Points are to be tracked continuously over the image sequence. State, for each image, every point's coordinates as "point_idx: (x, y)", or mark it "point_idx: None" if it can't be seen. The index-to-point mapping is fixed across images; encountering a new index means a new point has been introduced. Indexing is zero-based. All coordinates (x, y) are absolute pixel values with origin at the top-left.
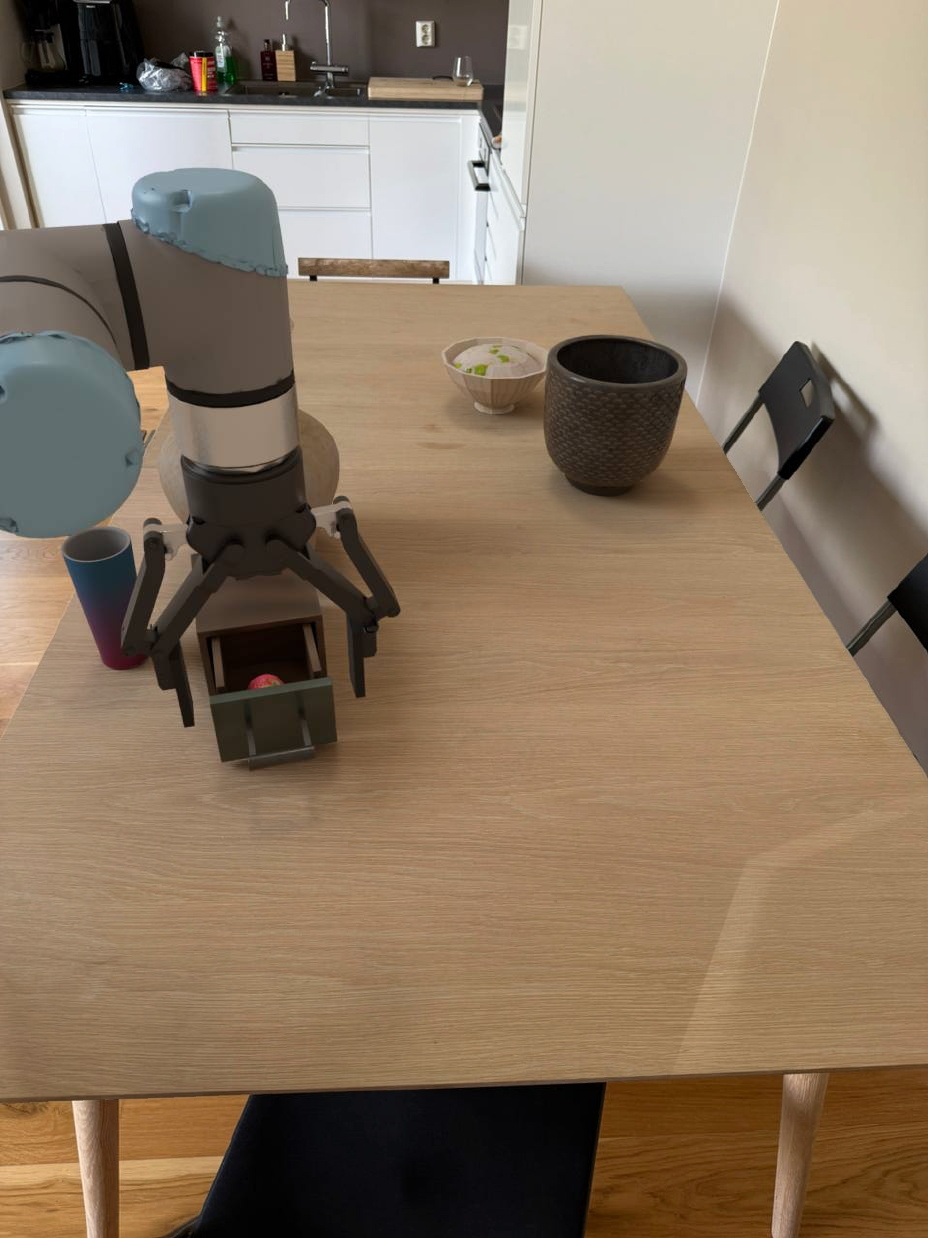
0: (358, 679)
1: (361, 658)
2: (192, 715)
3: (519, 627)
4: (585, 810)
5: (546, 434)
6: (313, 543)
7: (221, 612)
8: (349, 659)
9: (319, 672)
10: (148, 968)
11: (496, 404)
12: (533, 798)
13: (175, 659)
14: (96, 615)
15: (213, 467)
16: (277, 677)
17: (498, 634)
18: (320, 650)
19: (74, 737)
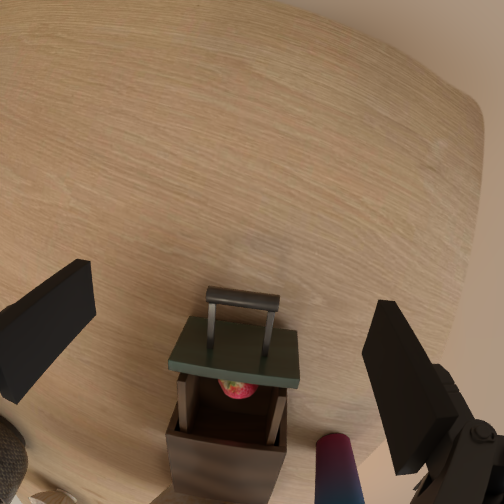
0: (61, 277)
1: (24, 298)
2: (385, 312)
3: None
4: (29, 173)
5: (22, 468)
6: None
7: (257, 463)
8: (72, 329)
9: (179, 379)
10: (401, 145)
11: (62, 495)
12: (55, 196)
13: (445, 419)
14: (353, 476)
15: None
16: (224, 392)
17: (56, 361)
18: None
19: None
